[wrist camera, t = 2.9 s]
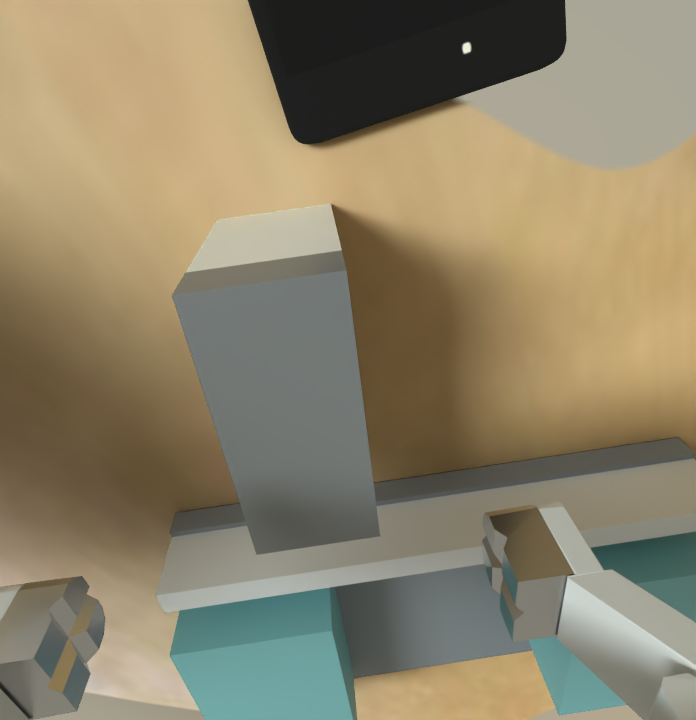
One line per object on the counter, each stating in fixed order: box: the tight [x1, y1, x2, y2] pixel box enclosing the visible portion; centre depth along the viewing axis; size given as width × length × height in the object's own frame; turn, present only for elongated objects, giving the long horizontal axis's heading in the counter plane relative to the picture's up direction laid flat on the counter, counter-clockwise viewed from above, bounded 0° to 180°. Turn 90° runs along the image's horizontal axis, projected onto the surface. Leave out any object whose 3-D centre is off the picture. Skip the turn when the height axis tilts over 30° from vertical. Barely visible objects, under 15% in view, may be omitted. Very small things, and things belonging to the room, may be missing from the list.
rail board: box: [155, 437, 696, 720], centre depth 25 cm, size 25×15×5 cm, turn 97°
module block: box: [172, 203, 380, 555], centre depth 16 cm, size 4×9×7 cm, turn 7°
